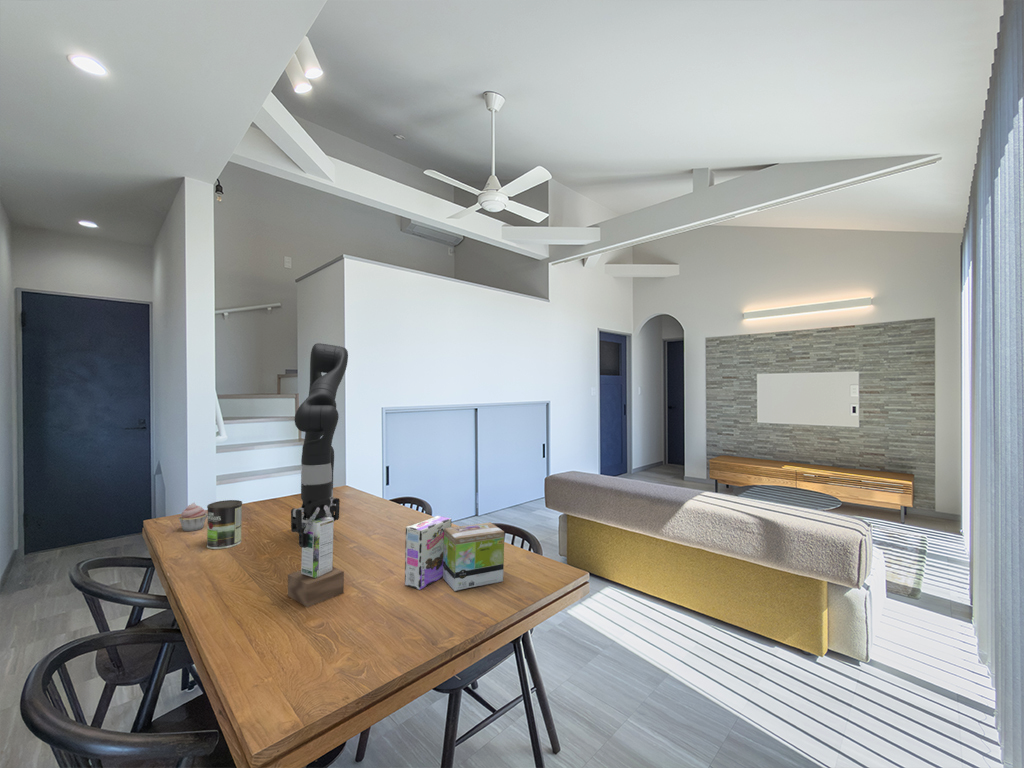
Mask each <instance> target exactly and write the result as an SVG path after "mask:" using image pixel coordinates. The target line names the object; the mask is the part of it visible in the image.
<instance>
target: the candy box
mask: <svg viewBox="0 0 1024 768" xmlns="http://www.w3.org/2000/svg"><path fill="white" fill-rule="evenodd" d="M451 527H452V518H451V517H446V516H441V515H435V516H433V517H430V518H428V519H424V520H423V521H420V522H416V523H414V524H411V525H407V526H405V547H404V548H405V553H404V555H405V556H404V557H405V558H404V585H405V586H407V587H411V588H413V589H416V590H422V589H424V588H426V587H427V586H429V585H431V584H433V583H434V582H437V581H439V580H441V579H443V552H444V529H445V528H451Z"/></svg>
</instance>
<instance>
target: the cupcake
mask: <svg viewBox="0 0 1024 768" xmlns="http://www.w3.org/2000/svg"><path fill="white" fill-rule="evenodd" d="M206 519H208V513H207V511H206V509H204V508H203V507H202V506H200V505H197V504H196V503H195V502H193V503H190V504H189V505H187V506H186V508H185V509H184V510H183V511H181V515H180V517H178V520H179V522H180V525H181V528H182V531H183V532H195V531H199V530H202V529H203V528H204V525H205V522H206Z"/></svg>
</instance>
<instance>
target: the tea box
mask: <svg viewBox="0 0 1024 768" xmlns="http://www.w3.org/2000/svg"><path fill="white" fill-rule="evenodd" d="M504 553H505V531H504V530H502V529H501V528H500V527H498V526H497V525H496V524H494V523H492V522H490V521H489V522H483V523H482V522H481V523H476V524H475V523H474V524H470V525H469V524H468V525H461V526H459V525H458V526H454V527H453V526H451V528H445V529H444V552H443V577H442V579H443V580H444V581H445V583H447V585H448V586H449V587H450V588H451V589H452V590H453V591H454V592H457V591H461V590H465V589H469V588H475V587H481V586H487V585H491V584H497V583H501V582H504V570H505V568H504V566H505V563H504V561H505V560H504V558H505V554H504Z"/></svg>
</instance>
